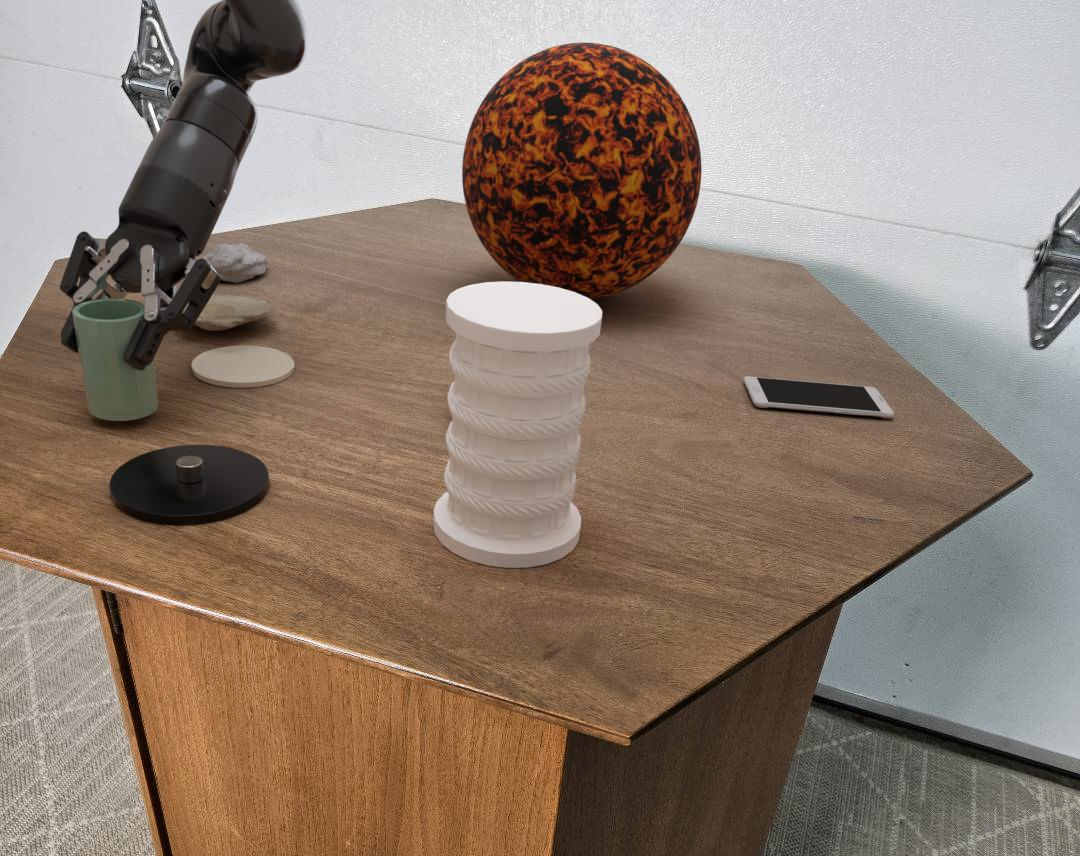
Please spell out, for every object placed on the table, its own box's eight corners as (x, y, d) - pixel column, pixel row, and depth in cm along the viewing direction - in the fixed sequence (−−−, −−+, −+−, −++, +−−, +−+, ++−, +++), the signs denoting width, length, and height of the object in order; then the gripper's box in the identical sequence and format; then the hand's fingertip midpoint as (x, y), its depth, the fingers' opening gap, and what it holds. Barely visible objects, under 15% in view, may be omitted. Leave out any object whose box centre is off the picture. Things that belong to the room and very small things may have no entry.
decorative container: (429, 564, 72) (437, 328, 62) (435, 488, 82) (443, 274, 72) (586, 571, 73) (617, 340, 63) (573, 495, 83) (599, 285, 73)
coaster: (170, 368, 98) (169, 363, 98) (245, 343, 105) (244, 338, 105) (242, 396, 94) (241, 390, 93) (315, 368, 101) (314, 362, 101)
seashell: (239, 301, 117) (237, 277, 115) (294, 330, 110) (293, 305, 108) (145, 318, 109) (142, 293, 108) (199, 350, 102) (196, 324, 101)
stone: (264, 242, 130) (274, 244, 121) (266, 278, 131) (276, 283, 123) (185, 241, 126) (190, 243, 118) (188, 278, 128) (193, 283, 119)
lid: (77, 490, 76) (72, 464, 75) (198, 439, 85) (195, 415, 84) (184, 542, 71) (181, 515, 70) (300, 483, 80) (299, 458, 79)
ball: (528, 344, 113) (552, 55, 97) (419, 269, 134) (425, 22, 118) (726, 320, 127) (775, 64, 111) (600, 256, 148) (626, 33, 132)
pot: (74, 407, 86) (57, 308, 82) (129, 388, 91) (116, 293, 86) (118, 427, 84) (103, 326, 79) (172, 406, 88) (161, 310, 84)
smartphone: (742, 375, 108) (875, 386, 109) (741, 380, 109) (874, 391, 109) (754, 402, 102) (896, 414, 102) (753, 408, 102) (894, 420, 103)
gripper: (89, 149, 85) (4, 318, 82) (227, 176, 81) (145, 356, 78) (139, 201, 92) (62, 359, 89) (269, 229, 88) (194, 395, 85)
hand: (101, 356), depth 83 cm, fingers closed on pot, 6 cm apart
